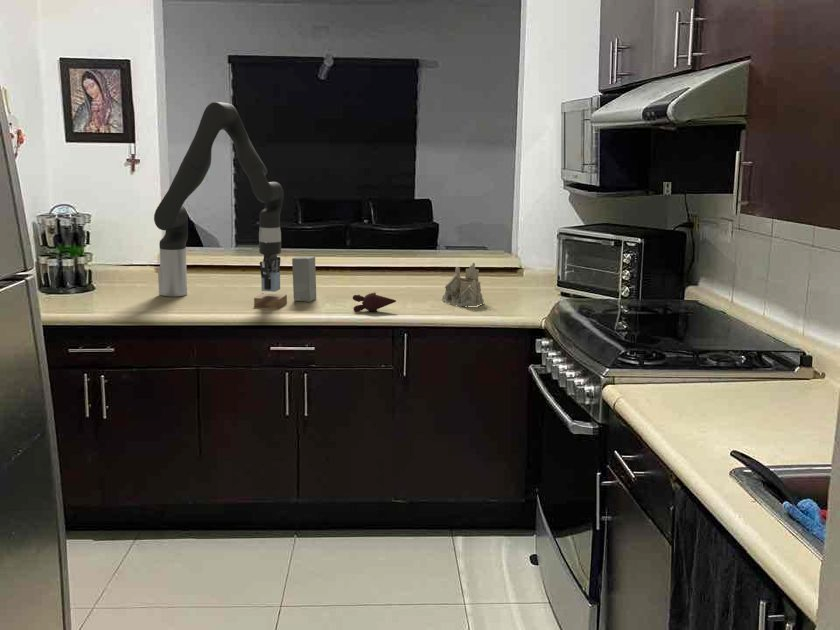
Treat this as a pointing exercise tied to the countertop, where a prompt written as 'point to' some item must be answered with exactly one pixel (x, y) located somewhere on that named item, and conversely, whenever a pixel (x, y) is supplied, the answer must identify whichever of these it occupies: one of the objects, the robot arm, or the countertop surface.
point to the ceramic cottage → (464, 289)
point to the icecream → (372, 302)
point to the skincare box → (304, 278)
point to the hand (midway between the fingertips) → (270, 287)
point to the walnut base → (270, 300)
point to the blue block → (273, 282)
